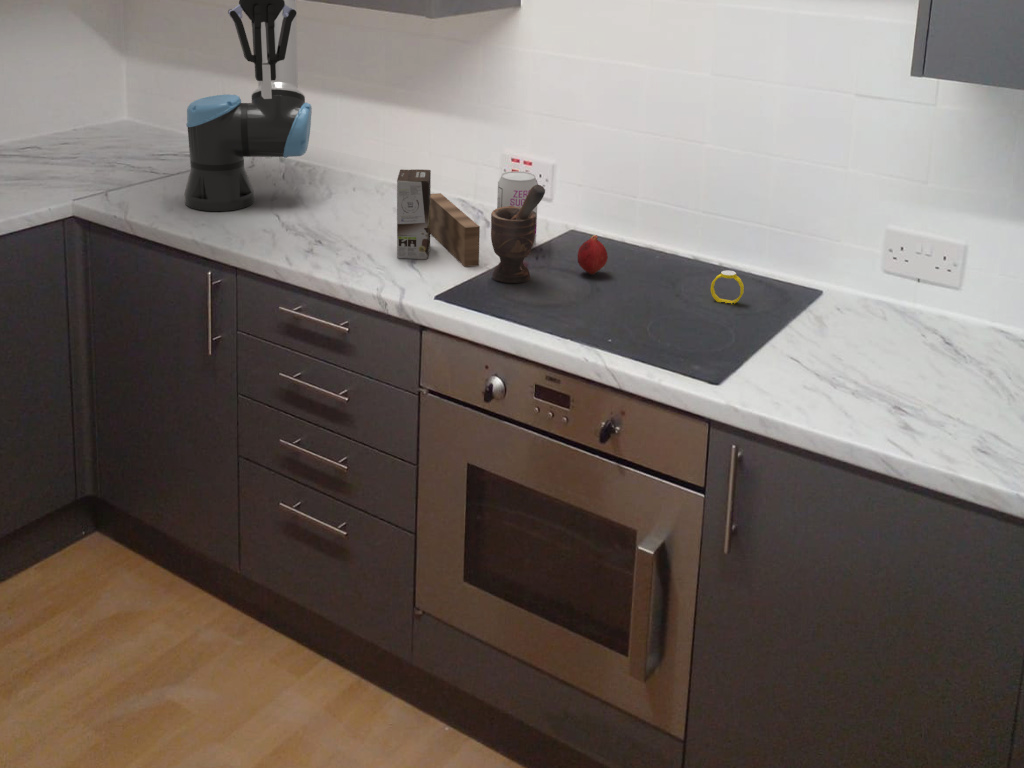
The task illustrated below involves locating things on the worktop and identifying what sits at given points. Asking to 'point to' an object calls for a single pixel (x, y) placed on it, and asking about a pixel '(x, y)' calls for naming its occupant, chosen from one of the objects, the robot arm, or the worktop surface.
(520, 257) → the mortar and pestle
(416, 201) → the coffee box
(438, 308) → the worktop surface
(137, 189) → the worktop surface
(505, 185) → the supplement can
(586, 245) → the onion
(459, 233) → the wooden board
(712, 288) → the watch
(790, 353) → the worktop surface
